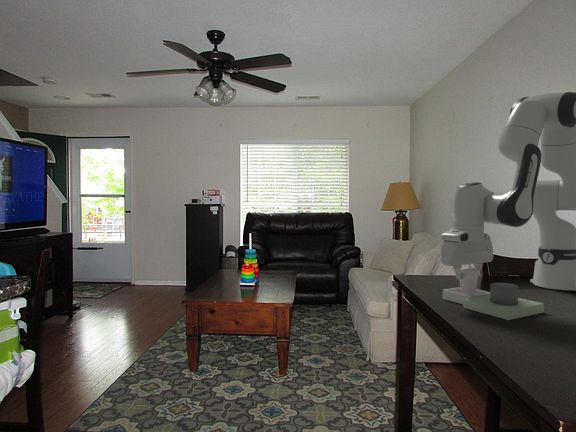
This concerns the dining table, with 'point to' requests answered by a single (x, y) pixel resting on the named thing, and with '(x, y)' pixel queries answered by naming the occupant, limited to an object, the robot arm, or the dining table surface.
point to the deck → (502, 309)
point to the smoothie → (469, 280)
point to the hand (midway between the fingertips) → (467, 278)
